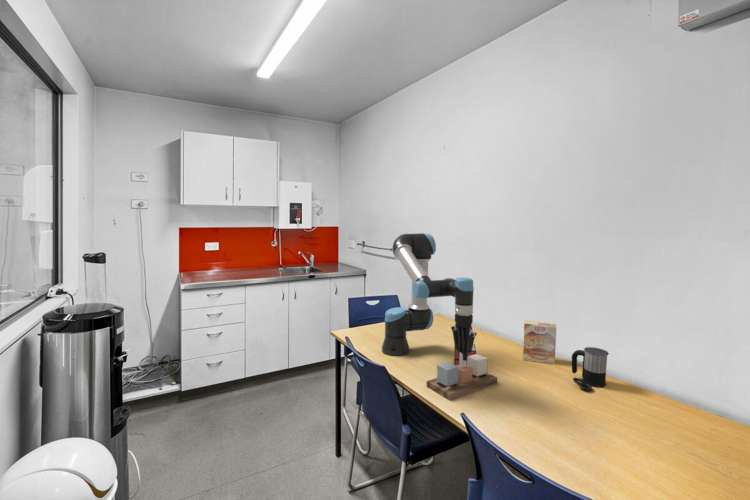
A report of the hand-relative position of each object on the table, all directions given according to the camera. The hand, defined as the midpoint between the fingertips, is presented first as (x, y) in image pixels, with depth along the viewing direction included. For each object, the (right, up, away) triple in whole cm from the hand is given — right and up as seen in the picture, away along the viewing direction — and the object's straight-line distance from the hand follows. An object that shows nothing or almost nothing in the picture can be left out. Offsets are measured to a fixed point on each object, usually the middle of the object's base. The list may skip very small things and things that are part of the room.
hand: (462, 366), depth 158 cm
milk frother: (+56, -9, 0) cm, 56 cm away
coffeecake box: (+46, -6, +29) cm, 55 cm away
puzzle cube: (+6, -7, +21) cm, 23 cm away
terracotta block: (0, -7, +1) cm, 7 cm away
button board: (0, -8, +1) cm, 8 cm away
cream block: (+8, -4, +5) cm, 10 cm away
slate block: (-8, -5, -4) cm, 10 cm away
